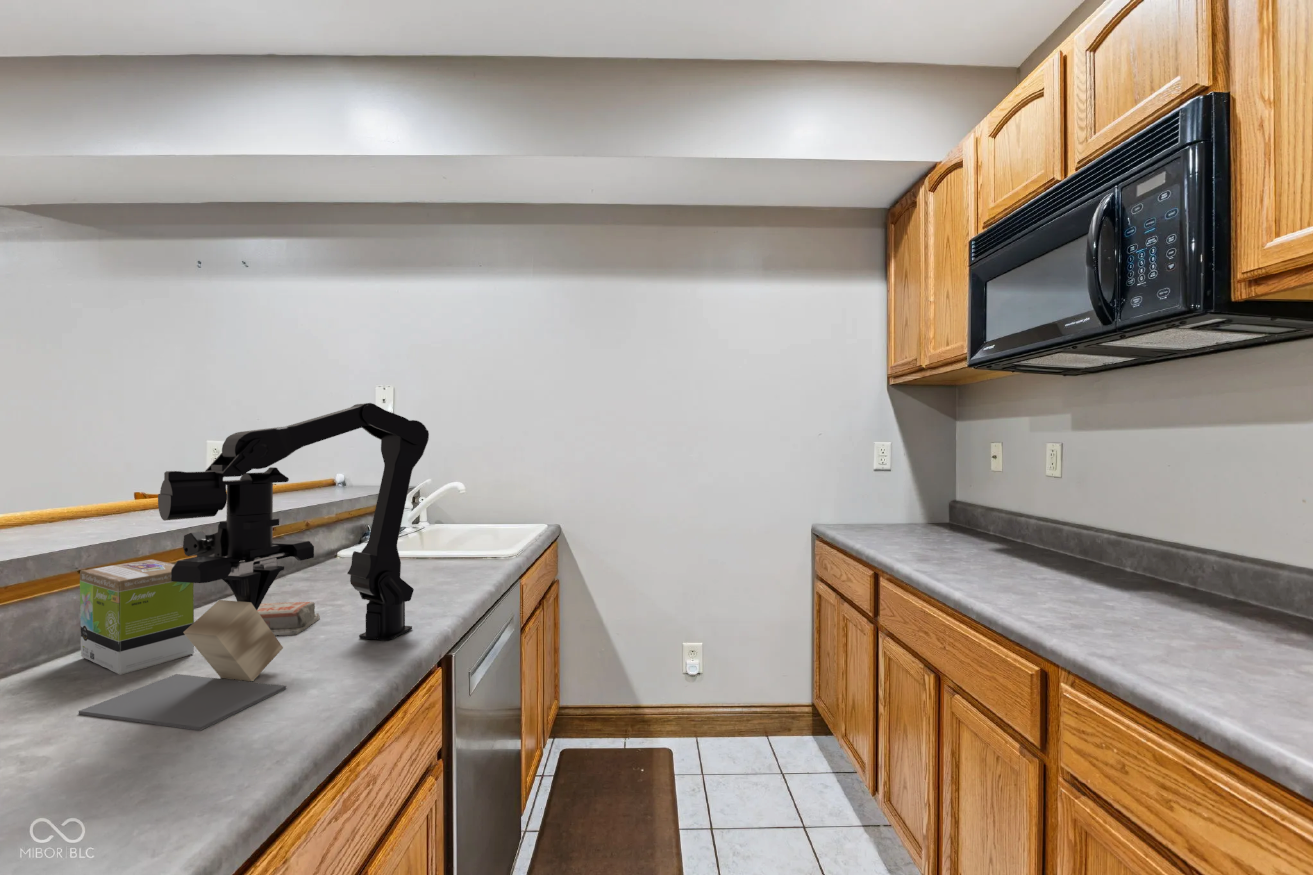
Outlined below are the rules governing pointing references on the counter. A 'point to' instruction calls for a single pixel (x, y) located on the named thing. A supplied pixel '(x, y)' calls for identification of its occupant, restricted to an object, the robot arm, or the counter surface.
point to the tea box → (134, 615)
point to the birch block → (234, 640)
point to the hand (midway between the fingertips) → (249, 616)
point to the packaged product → (288, 616)
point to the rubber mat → (184, 701)
